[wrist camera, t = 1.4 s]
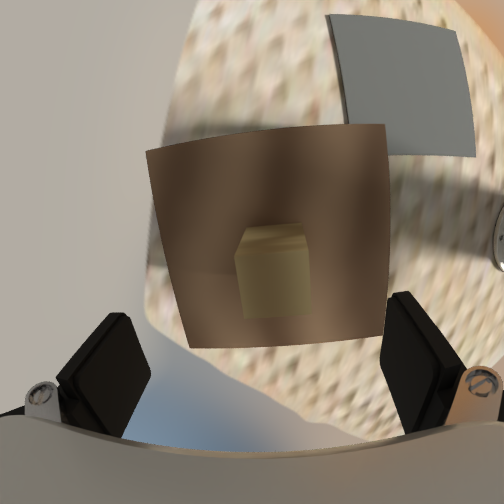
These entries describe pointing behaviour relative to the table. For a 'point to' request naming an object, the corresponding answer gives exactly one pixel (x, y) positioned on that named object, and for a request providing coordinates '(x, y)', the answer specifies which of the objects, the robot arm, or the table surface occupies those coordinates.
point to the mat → (406, 84)
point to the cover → (276, 234)
